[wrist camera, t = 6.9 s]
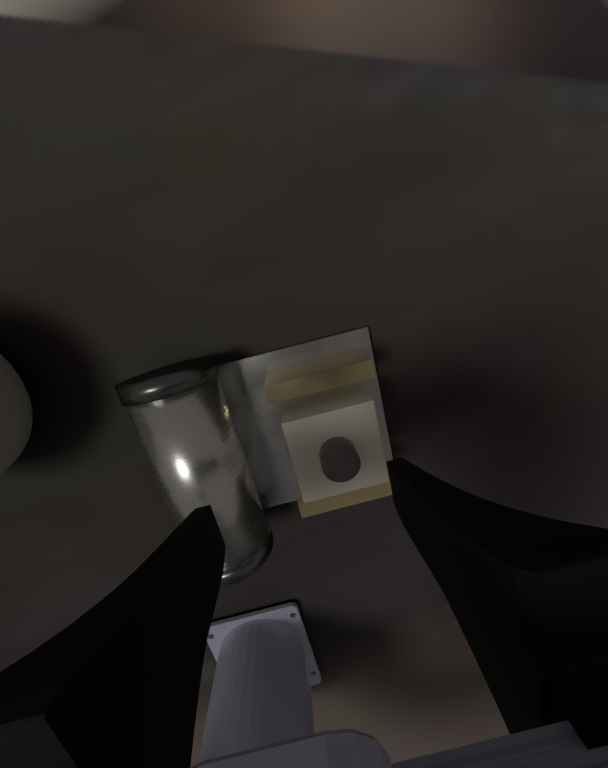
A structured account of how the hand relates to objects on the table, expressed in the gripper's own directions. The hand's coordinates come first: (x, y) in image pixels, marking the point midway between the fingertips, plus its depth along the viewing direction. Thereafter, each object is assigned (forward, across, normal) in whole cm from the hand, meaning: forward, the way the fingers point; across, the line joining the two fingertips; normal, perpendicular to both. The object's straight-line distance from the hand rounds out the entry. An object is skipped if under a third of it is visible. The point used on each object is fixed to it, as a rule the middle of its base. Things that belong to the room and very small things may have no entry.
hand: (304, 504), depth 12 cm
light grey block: (+9, -2, +1) cm, 9 cm away
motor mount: (+9, +1, +1) cm, 10 cm away
